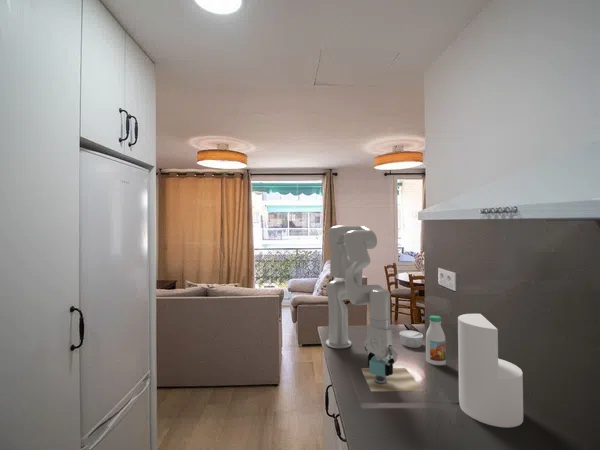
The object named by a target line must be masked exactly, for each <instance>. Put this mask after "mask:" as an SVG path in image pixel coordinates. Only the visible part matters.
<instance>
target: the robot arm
mask: <svg viewBox="0 0 600 450" xmlns="http://www.w3.org/2000/svg"><path fill="white" fill-rule="evenodd" d="M327 241H328V244H329V249H330V263H329V266H330V267H329V269H330V271H329V272H330V276H331V277H332V278H335V280H331V281H329V282H328V283H327V284H326V295H327V301H328V302H327V303H328V338H327V339H326V340H325V345H326V346H327V347H329V348H333V349H338V350H339V349H341V350H343V349H347V348H349V347H351V346H352V341H351V340H350V339H349V312H348V311H349V310H348V309H349V308H348V306H347V305H346V304H345V302H344V300H349V302H350V303H351V304H352V305H353V306H363V305H364V306H365V305H368V306H369V308H368V310H369V311H368V312H369V315H368V320H369V321H368V322H369V323H368V324H367V328H366V335H365V340H363V346H364V349H365V351H366V355H367V366H368V367H369V361H370V360H371V359H372V357H373V356H374V355H375V356H379V357H381V358H384V359H385V361H386V364H385V375H386V376H389V375H392V374H393V368H394V364H395V363H396V362H397V360H398V359H399V357H400V355H399V354H398V353H397V352H396V350H395V349H394V336H393V330H392V328H391V292H390V290H388V289H386V288H383V287H382V285H380V284H363V269H365V268H367V267H368V266H369V265H370V263H371V257H370V254H369V252H368V250H372V249H375V248H376V246H377V244H378V238H377V235H376V233H375V232H374V231H373V230H371V229H370V228H367V227H366V226H364V225H363V226H362V225H334V226H332V227H330V228H329V229H328V232H327ZM388 358H389V359H390V360H388Z"/></svg>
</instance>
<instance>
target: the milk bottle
mask: <svg viewBox="0 0 600 450" xmlns="http://www.w3.org/2000/svg"><path fill="white" fill-rule="evenodd" d="M428 319H429V326H428V328H427V330H426V332H425V333H426V335H425V361H426V362H427V363H428V364H431V365H433V366H447V365H446V364H447V363H446V362H447V359H446V358H447V355H446V354H447V353H446V350H447V349H446V348H447V347H446V345H447V344H446V334H445V333H444V329H443V327H442V325H441V324H442V317H441V316H440V315H430V316H429V318H428Z"/></svg>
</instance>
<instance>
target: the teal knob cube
mask: <svg viewBox="0 0 600 450" xmlns="http://www.w3.org/2000/svg"><path fill="white" fill-rule="evenodd" d="M387 358H388V360H390V359H389V357H387ZM385 364H386V361H385V359H384V358H381V357H379V356H377V355H374V356H373V357H372V359H371V360H370V361H369V366H368V367H369V371H370V374H374V375H379V376H383V377H386V375H385Z"/></svg>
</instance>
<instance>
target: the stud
mask: <svg viewBox="0 0 600 450" xmlns="http://www.w3.org/2000/svg"><path fill="white" fill-rule="evenodd" d="M374 382H375V383H377V384H386V382H387V379H386V378H385V377H383V376H379V375H376V376H375V377H374Z"/></svg>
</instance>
